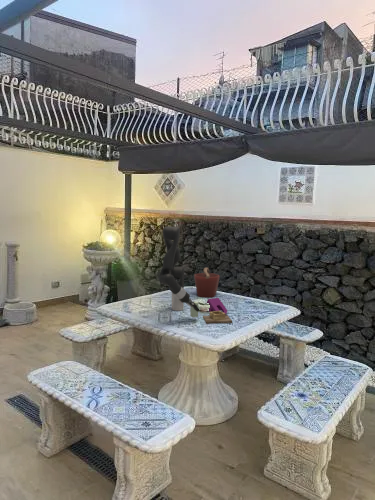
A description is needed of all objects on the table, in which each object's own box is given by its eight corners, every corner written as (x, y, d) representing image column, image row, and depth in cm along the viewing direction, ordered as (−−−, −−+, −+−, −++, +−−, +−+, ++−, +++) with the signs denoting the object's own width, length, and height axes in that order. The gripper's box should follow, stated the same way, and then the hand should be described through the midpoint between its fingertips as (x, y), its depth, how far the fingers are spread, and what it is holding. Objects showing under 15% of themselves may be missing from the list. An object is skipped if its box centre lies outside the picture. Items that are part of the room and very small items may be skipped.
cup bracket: (202, 317, 266) (203, 310, 266) (227, 317, 269) (227, 309, 268) (206, 323, 253) (206, 315, 252) (232, 323, 255) (232, 315, 254)
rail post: (190, 315, 261) (190, 302, 260) (195, 315, 263) (195, 301, 262) (193, 317, 258) (193, 303, 257) (198, 316, 260) (198, 302, 258)
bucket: (213, 299, 318) (214, 271, 315) (189, 297, 326) (189, 269, 323) (221, 293, 341) (221, 266, 338) (198, 291, 349) (198, 265, 346)
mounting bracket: (226, 321, 277) (215, 306, 291) (229, 313, 273) (218, 297, 287) (215, 323, 273) (205, 307, 287) (218, 314, 269) (207, 298, 283)
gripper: (189, 292, 249) (205, 308, 256) (180, 288, 261) (195, 303, 268) (182, 301, 247) (198, 316, 254) (173, 296, 259) (188, 311, 266)
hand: (196, 309), depth 261 cm, fingers closed on rail post, 4 cm apart
